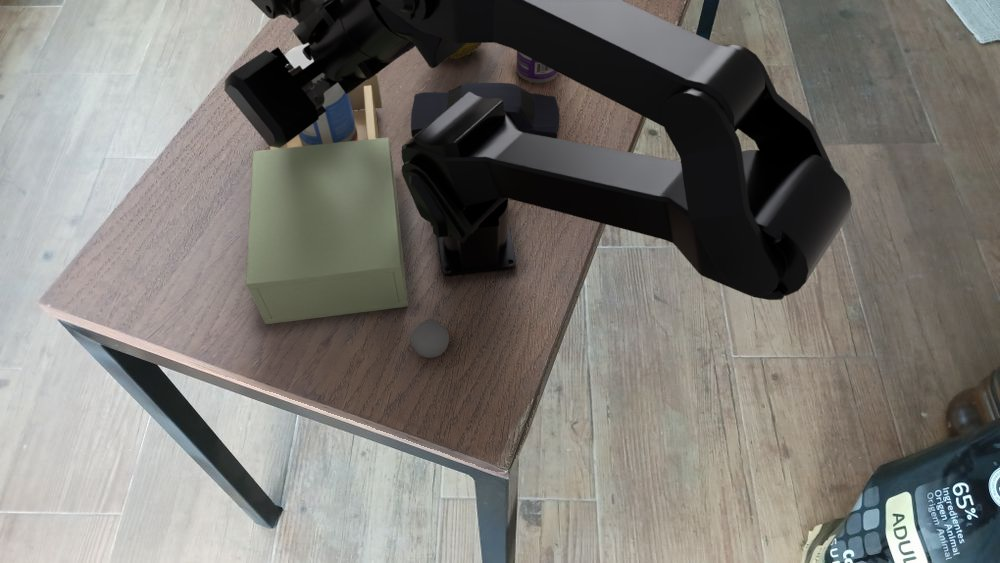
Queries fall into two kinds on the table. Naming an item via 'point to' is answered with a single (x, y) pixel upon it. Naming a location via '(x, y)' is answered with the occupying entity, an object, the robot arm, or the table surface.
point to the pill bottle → (327, 110)
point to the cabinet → (325, 231)
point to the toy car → (519, 104)
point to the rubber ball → (430, 339)
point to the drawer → (364, 119)
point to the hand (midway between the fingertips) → (304, 81)
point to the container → (533, 70)
